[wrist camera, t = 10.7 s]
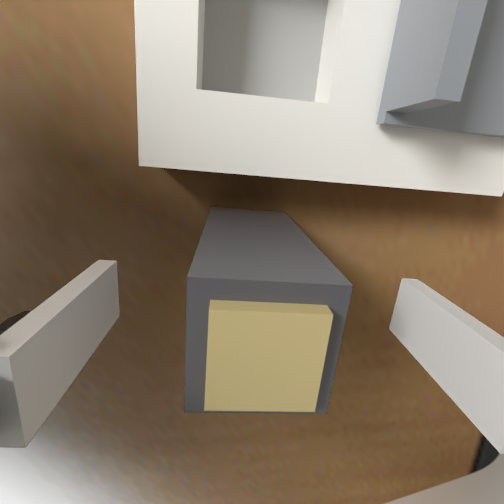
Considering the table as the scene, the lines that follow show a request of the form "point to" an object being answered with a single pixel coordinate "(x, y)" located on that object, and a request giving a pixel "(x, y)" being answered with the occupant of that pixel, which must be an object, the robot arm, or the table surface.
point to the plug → (261, 317)
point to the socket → (289, 97)
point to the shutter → (446, 68)
